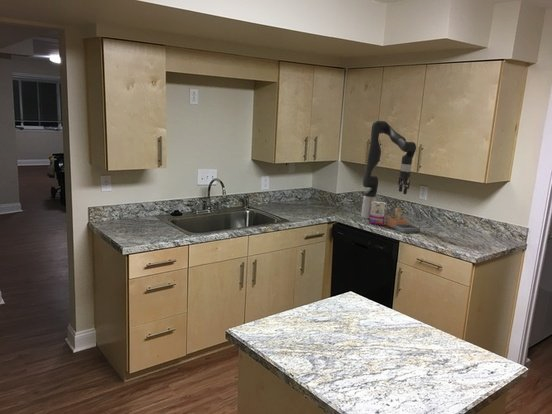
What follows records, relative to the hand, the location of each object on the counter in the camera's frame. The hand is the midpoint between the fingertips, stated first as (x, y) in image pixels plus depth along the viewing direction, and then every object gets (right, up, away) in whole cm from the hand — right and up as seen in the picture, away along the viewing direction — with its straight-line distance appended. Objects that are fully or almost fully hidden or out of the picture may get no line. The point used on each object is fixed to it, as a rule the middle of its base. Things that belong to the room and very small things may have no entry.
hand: (402, 192), depth 325 cm
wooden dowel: (-2, -25, +9) cm, 26 cm away
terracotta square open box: (-2, -25, +9) cm, 26 cm away
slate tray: (+2, -27, -1) cm, 27 cm away
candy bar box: (-15, -23, +14) cm, 31 cm away
